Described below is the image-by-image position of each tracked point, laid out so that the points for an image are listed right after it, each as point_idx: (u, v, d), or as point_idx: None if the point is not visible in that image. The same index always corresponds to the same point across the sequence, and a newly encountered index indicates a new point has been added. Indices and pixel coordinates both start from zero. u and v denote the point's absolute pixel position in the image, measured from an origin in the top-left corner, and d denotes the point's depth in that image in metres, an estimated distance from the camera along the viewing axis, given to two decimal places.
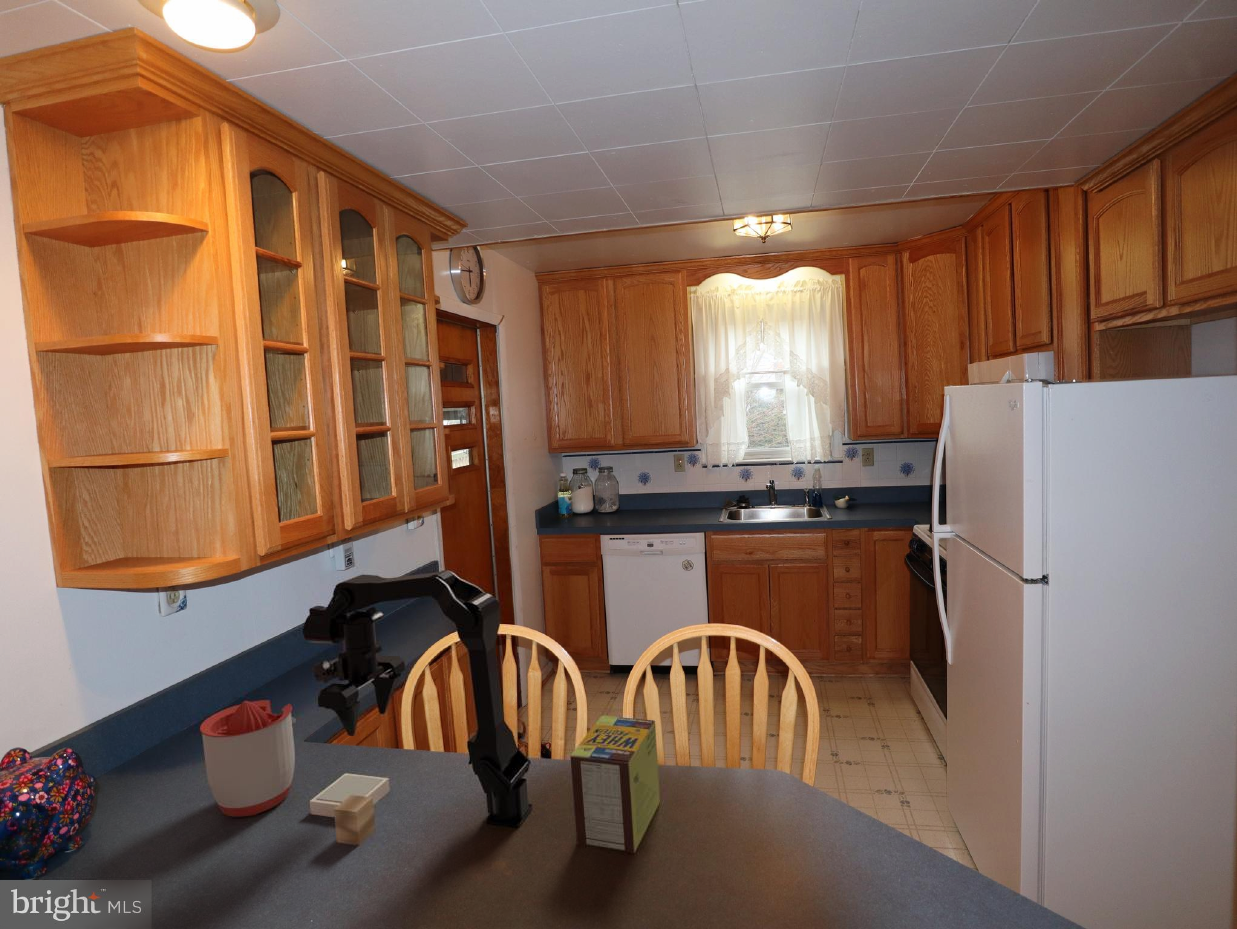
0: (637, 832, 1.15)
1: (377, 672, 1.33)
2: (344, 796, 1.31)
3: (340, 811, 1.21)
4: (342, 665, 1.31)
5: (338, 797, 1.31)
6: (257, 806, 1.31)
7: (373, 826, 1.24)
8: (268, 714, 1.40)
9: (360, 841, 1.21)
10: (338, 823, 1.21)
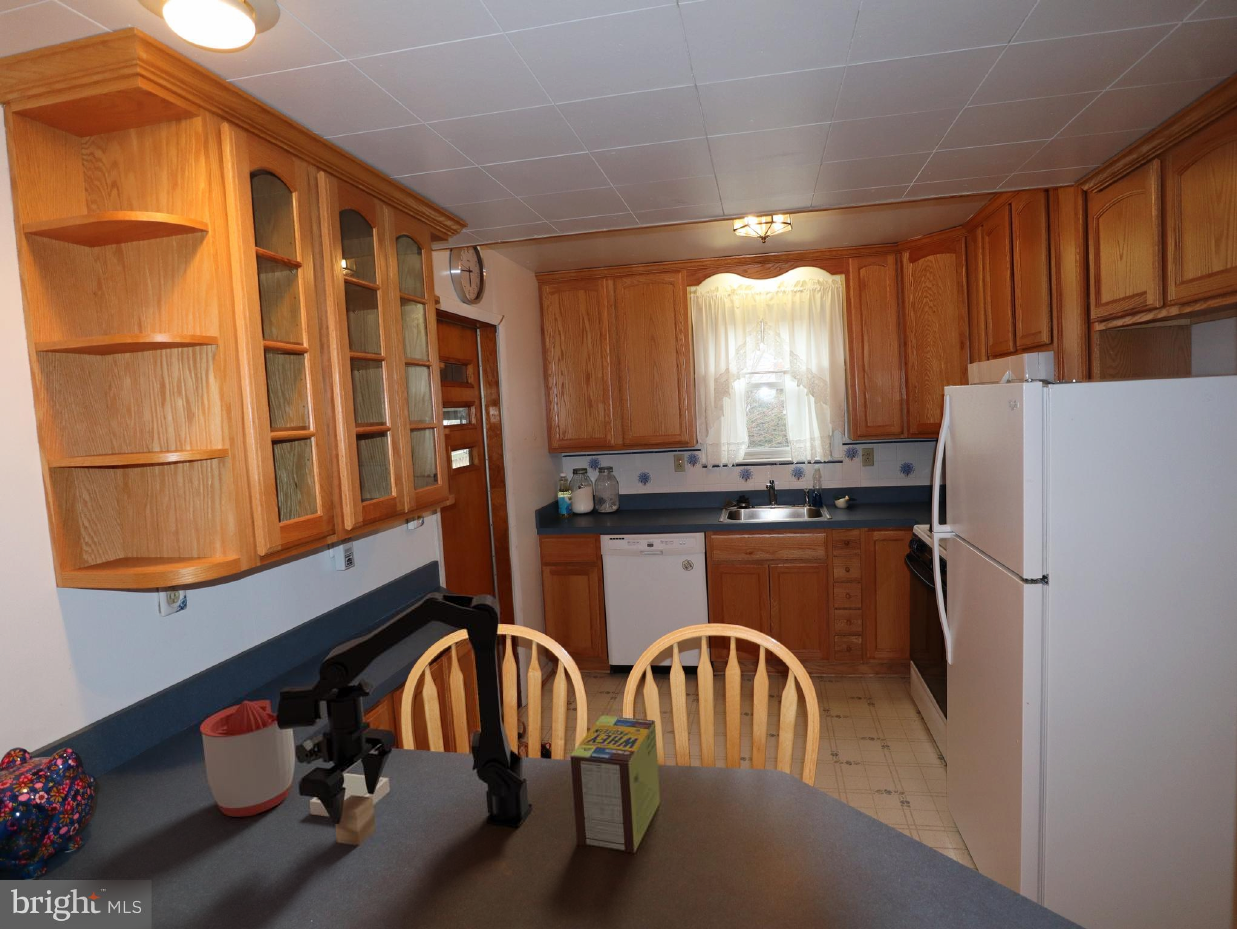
0: (637, 832, 1.15)
1: (365, 752, 1.22)
2: None
3: None
4: (327, 745, 1.20)
5: None
6: (257, 806, 1.31)
7: (373, 826, 1.24)
8: (268, 714, 1.40)
9: (360, 841, 1.21)
10: None
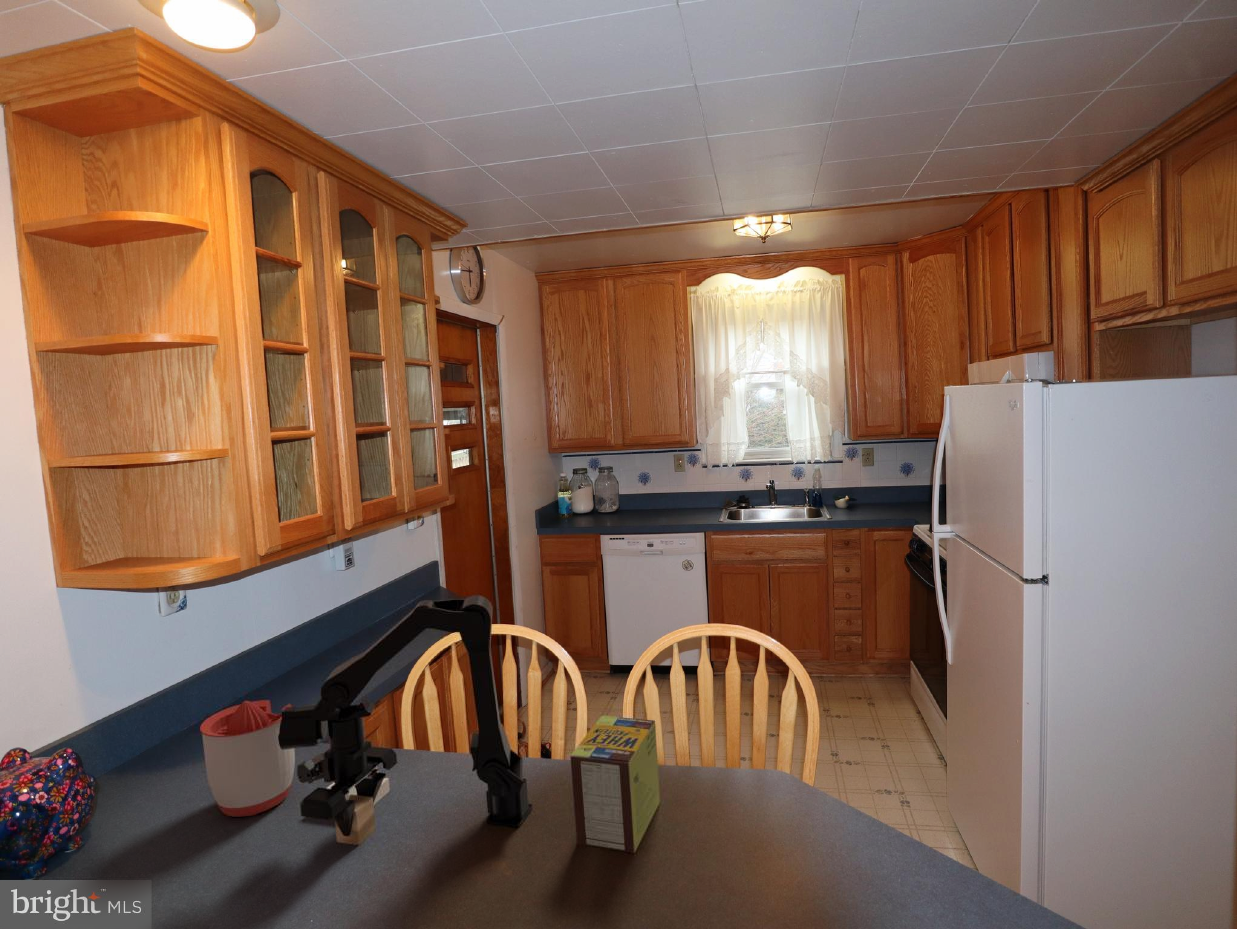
0: (637, 832, 1.15)
1: (366, 771, 1.22)
2: None
3: None
4: (328, 765, 1.20)
5: None
6: (257, 806, 1.31)
7: (373, 826, 1.24)
8: (268, 714, 1.40)
9: (360, 841, 1.21)
10: None
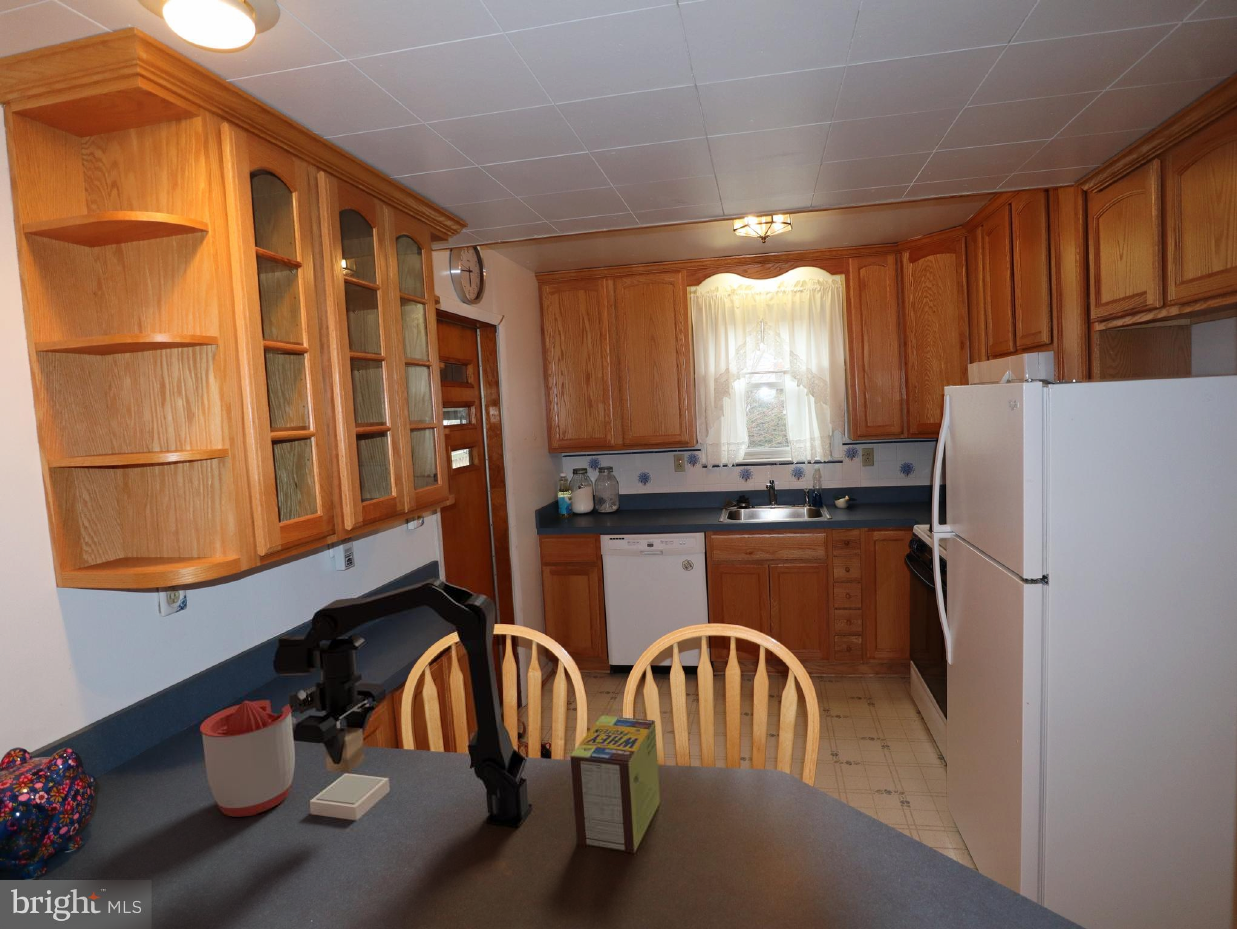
0: (637, 832, 1.15)
1: (356, 702, 1.26)
2: (344, 796, 1.31)
3: None
4: (319, 695, 1.24)
5: (338, 797, 1.31)
6: (257, 806, 1.31)
7: (362, 756, 1.28)
8: (268, 714, 1.40)
9: (350, 769, 1.25)
10: None
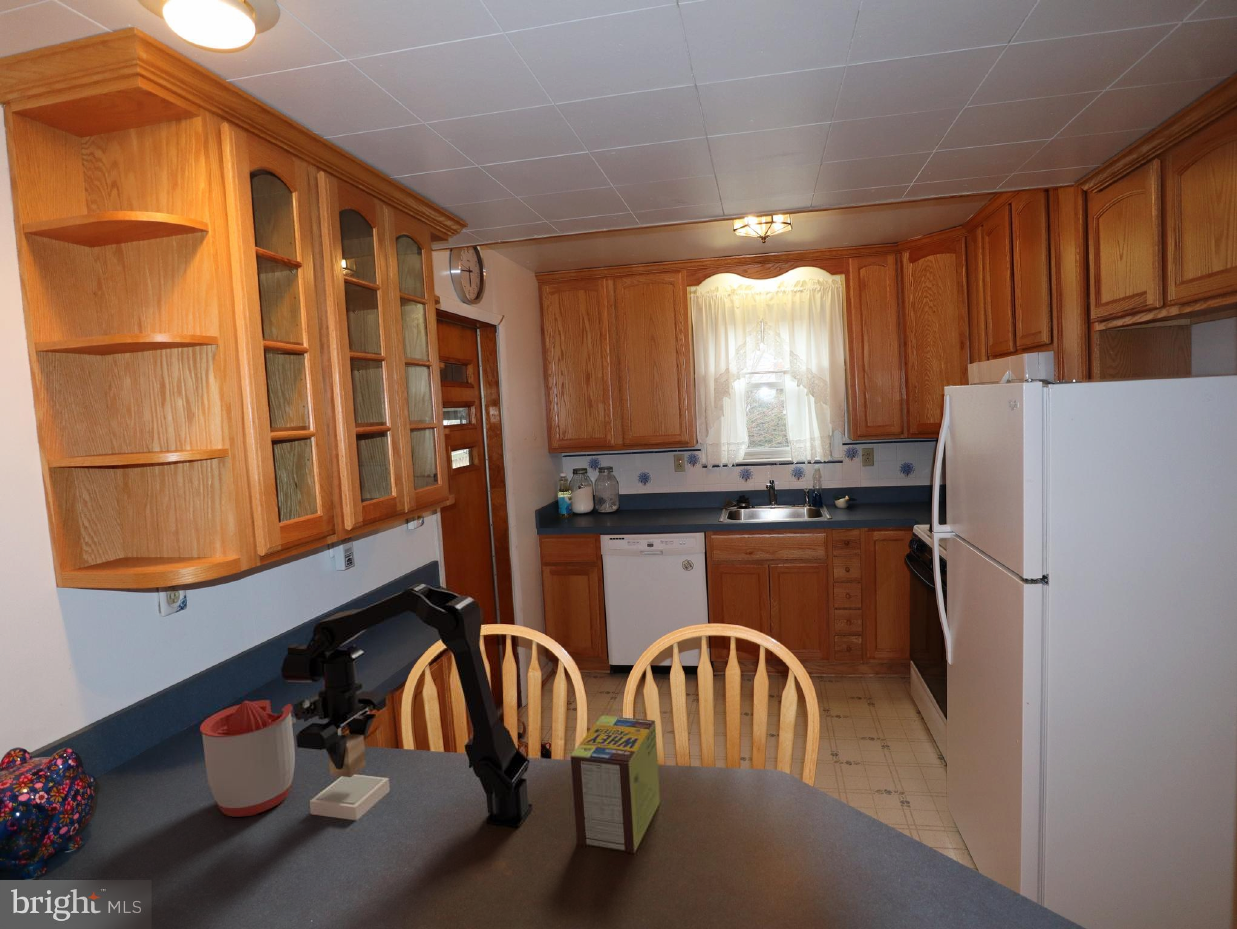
0: (637, 832, 1.15)
1: (357, 710, 1.32)
2: (344, 796, 1.31)
3: None
4: (322, 704, 1.31)
5: (338, 797, 1.31)
6: (257, 806, 1.31)
7: (364, 761, 1.35)
8: (268, 714, 1.40)
9: (351, 773, 1.31)
10: None
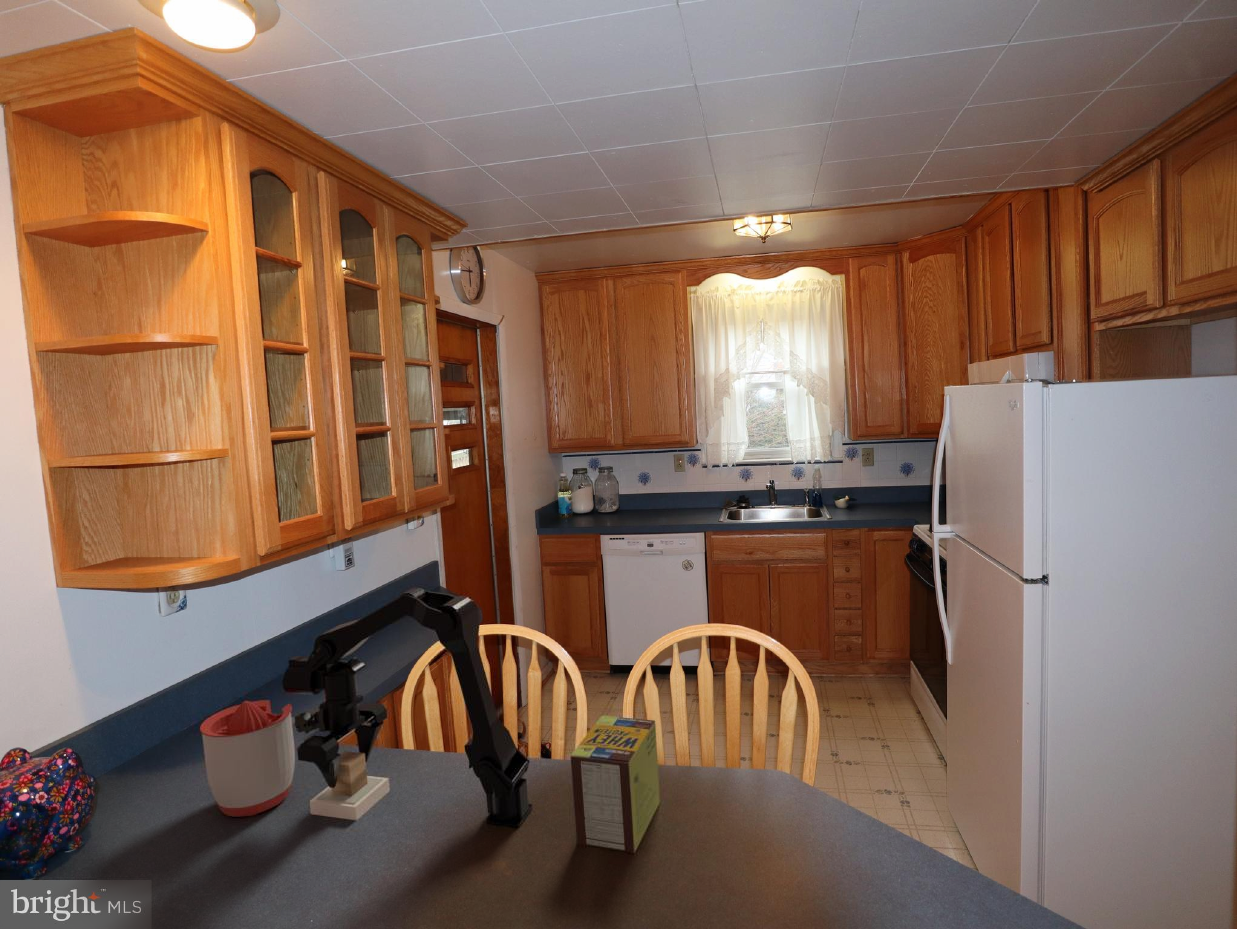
0: (637, 832, 1.15)
1: (358, 722, 1.33)
2: (344, 796, 1.31)
3: None
4: (323, 716, 1.31)
5: (338, 797, 1.31)
6: (257, 806, 1.31)
7: (365, 779, 1.35)
8: (268, 714, 1.40)
9: (353, 792, 1.31)
10: None
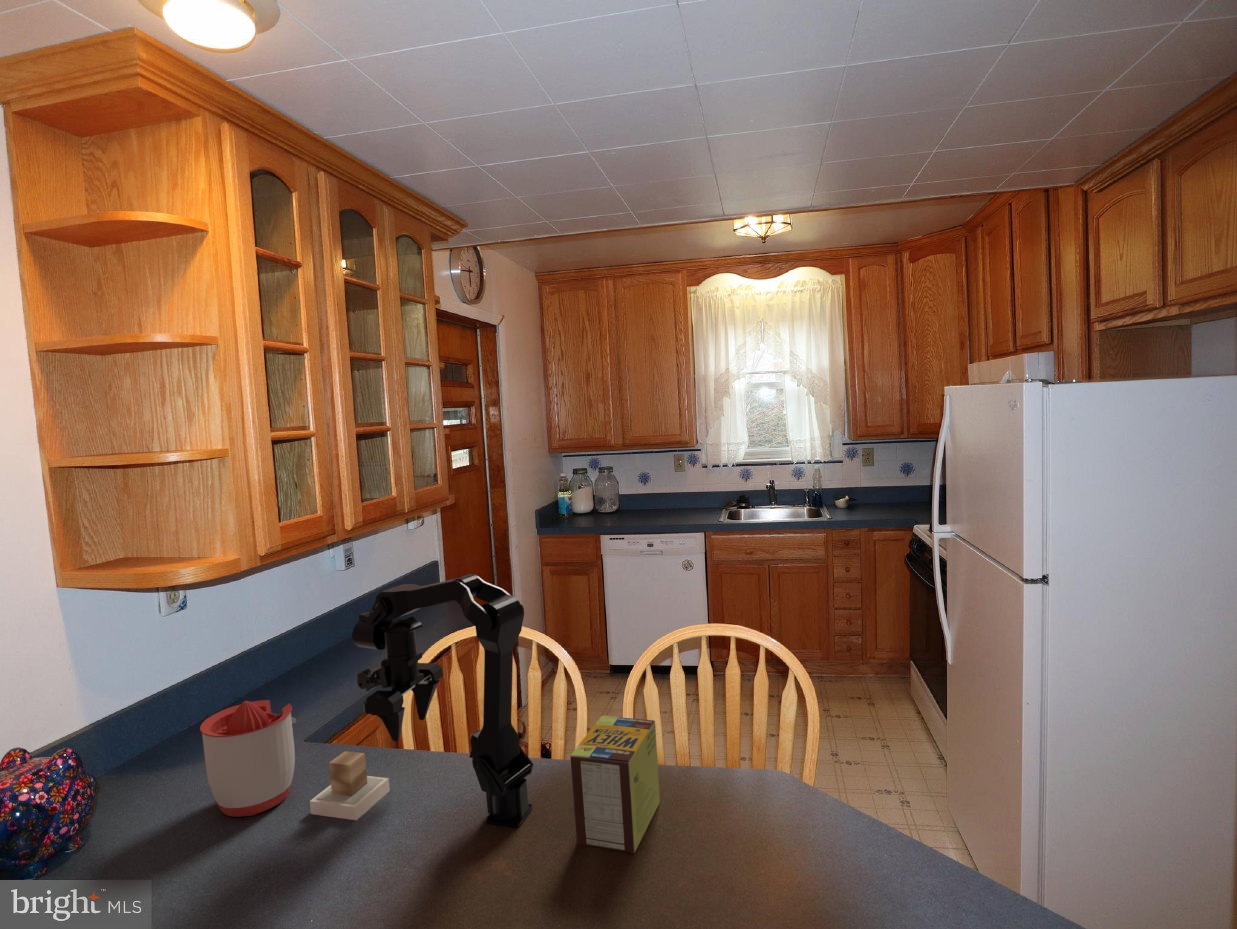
0: (637, 832, 1.15)
1: (418, 679, 1.36)
2: (344, 796, 1.31)
3: (334, 764, 1.32)
4: (385, 673, 1.35)
5: (338, 797, 1.31)
6: (257, 806, 1.31)
7: (365, 779, 1.35)
8: (268, 714, 1.40)
9: (353, 792, 1.31)
10: (333, 776, 1.32)
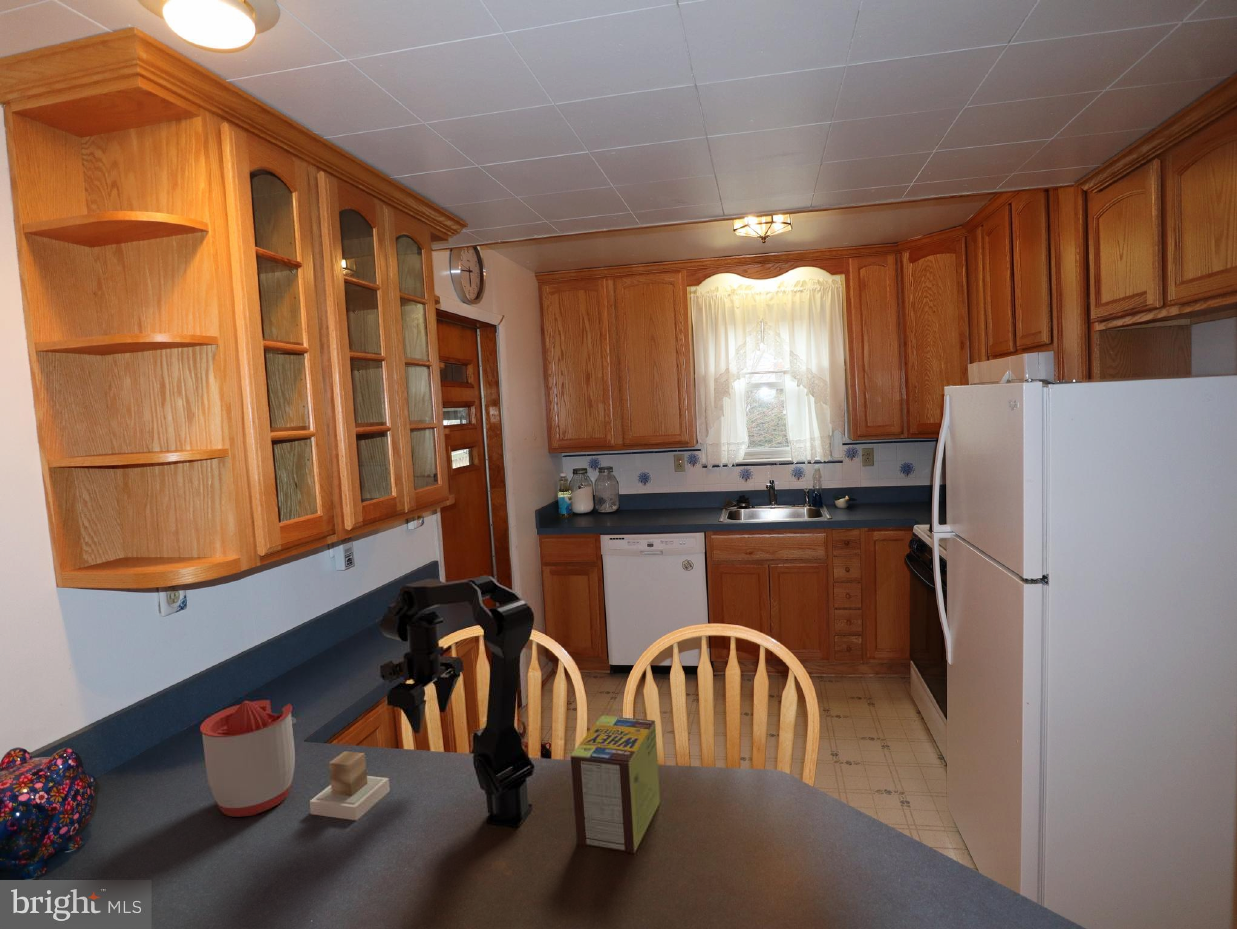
0: (637, 832, 1.15)
1: (440, 672, 1.38)
2: (344, 796, 1.31)
3: (334, 764, 1.32)
4: (407, 665, 1.36)
5: (338, 797, 1.31)
6: (257, 806, 1.31)
7: (365, 779, 1.35)
8: (268, 714, 1.40)
9: (353, 792, 1.31)
10: (333, 776, 1.32)
